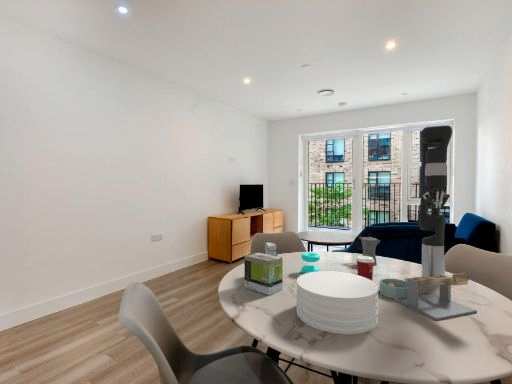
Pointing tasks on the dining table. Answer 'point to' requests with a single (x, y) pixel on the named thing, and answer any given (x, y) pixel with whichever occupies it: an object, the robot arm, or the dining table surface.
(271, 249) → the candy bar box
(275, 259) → the tea box
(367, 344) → the dining table surface
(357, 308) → the plate stack
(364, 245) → the coffeepot
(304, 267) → the donuts
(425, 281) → the lever
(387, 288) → the bowl
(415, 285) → the stand
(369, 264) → the paper cup
